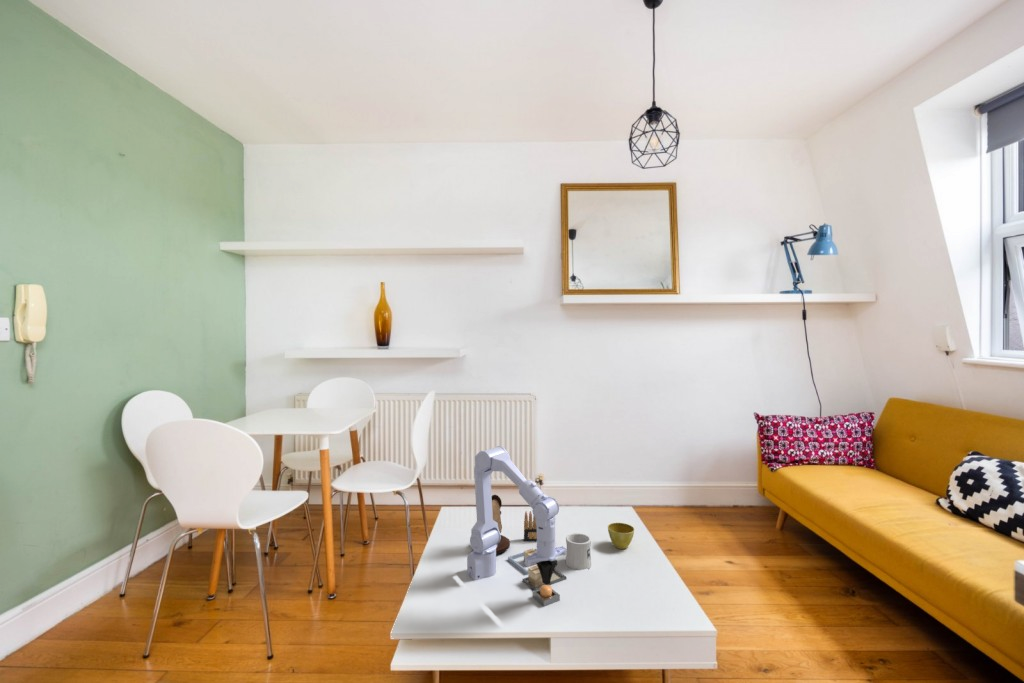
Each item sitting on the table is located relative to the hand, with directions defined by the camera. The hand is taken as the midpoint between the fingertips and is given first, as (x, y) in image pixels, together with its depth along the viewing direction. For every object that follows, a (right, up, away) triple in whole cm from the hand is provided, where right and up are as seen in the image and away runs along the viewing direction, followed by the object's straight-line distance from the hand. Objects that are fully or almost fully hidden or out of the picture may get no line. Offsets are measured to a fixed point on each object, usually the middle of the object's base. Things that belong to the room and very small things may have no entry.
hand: (546, 583), depth 142 cm
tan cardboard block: (-4, -5, +23) cm, 24 cm away
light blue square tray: (-4, -6, +23) cm, 24 cm away
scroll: (-19, -6, +36) cm, 41 cm away
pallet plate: (0, -6, +11) cm, 12 cm away
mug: (+13, -6, +24) cm, 28 cm away
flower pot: (+32, -6, +38) cm, 50 cm away
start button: (0, -4, 0) cm, 4 cm away
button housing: (0, -6, 0) cm, 6 cm away
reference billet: (-2, -5, +9) cm, 11 cm away
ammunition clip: (0, -6, +42) cm, 43 cm away
